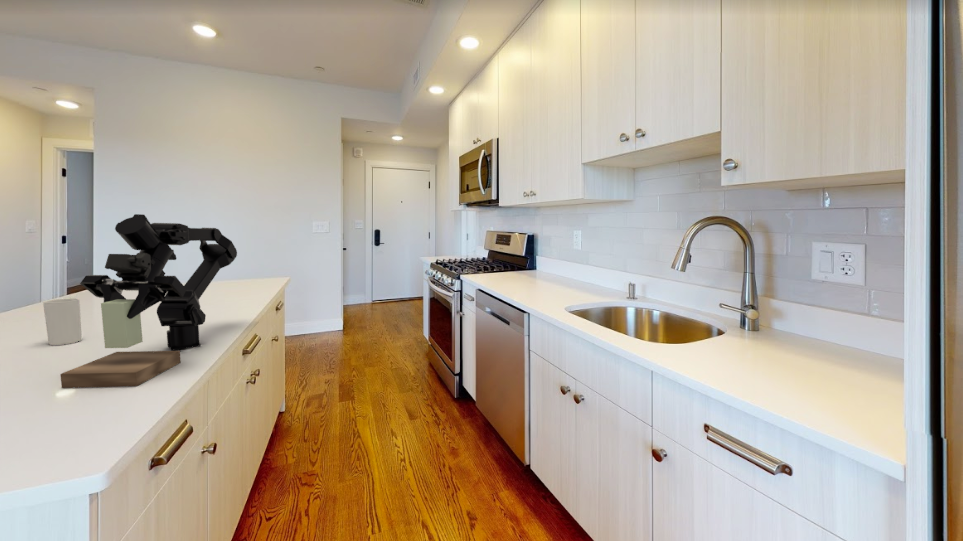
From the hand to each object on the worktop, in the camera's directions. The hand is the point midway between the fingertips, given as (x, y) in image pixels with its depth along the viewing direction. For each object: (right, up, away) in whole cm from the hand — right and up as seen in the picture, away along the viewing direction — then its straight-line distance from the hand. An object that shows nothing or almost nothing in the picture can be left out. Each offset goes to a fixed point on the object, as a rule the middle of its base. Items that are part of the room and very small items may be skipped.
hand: (116, 317), depth 83 cm
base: (-1, -13, +3) cm, 13 cm away
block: (0, -6, +2) cm, 7 cm away
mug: (-38, -10, +25) cm, 47 cm away
